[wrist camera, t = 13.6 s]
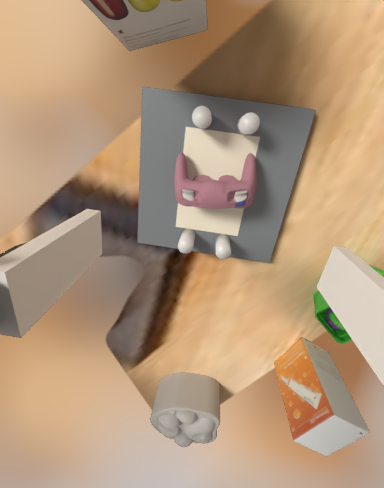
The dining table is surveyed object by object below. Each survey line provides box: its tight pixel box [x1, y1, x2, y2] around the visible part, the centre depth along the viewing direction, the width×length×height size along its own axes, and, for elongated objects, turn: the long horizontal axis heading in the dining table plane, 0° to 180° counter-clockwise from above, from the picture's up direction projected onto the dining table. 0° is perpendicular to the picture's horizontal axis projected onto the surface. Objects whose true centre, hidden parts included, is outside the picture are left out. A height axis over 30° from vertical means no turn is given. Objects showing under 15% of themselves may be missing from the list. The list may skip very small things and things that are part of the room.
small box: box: [274, 338, 370, 456], centre depth 38 cm, size 8×6×13 cm
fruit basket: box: [314, 266, 384, 343], centre depth 32 cm, size 11×9×11 cm
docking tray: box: [138, 87, 316, 263], centre depth 30 cm, size 20×20×5 cm
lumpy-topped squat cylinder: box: [150, 372, 220, 447], centre depth 47 cm, size 10×13×9 cm
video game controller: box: [174, 153, 257, 209], centre depth 28 cm, size 10×5×7 cm, turn 90°
